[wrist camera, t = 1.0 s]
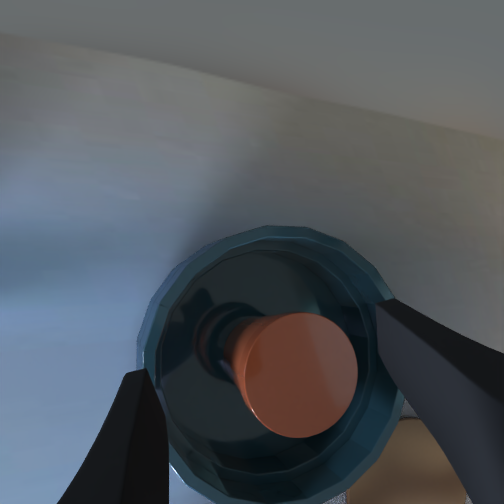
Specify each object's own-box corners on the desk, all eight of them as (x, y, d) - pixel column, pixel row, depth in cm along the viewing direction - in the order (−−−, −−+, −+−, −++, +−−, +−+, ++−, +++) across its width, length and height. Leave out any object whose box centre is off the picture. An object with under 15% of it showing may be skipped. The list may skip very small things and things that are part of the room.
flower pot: (314, 380, 28) (372, 408, 22) (229, 417, 27) (265, 459, 20) (287, 292, 28) (338, 295, 22) (199, 324, 26) (227, 337, 20)
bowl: (387, 416, 30) (439, 441, 25) (180, 517, 26) (196, 571, 21) (324, 209, 30) (365, 195, 25) (102, 276, 25) (101, 275, 21)
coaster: (478, 519, 32) (482, 522, 31) (370, 586, 29) (373, 590, 29) (441, 396, 31) (445, 397, 31) (328, 451, 29) (331, 454, 28)
